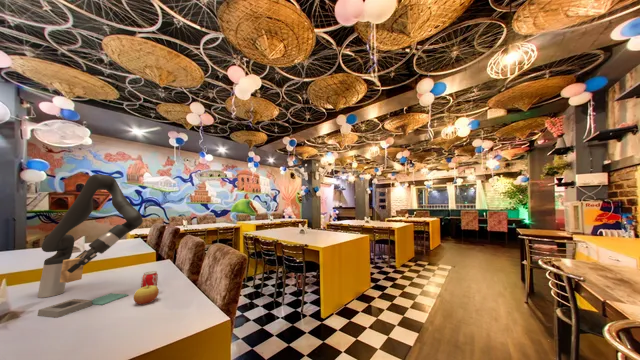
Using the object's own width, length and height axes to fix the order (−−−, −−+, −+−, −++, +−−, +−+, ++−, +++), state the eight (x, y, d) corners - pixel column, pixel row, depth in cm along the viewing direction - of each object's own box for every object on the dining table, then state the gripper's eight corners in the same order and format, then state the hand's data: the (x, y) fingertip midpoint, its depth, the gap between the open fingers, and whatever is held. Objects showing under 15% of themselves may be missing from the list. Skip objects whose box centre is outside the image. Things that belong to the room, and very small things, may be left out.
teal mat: (83, 303, 105) (83, 302, 105) (110, 294, 117) (110, 293, 117) (102, 305, 103) (102, 303, 103) (128, 295, 115) (128, 294, 115)
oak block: (59, 282, 99) (63, 260, 100) (73, 278, 103) (76, 257, 105) (67, 282, 98) (71, 260, 99) (81, 279, 102) (84, 258, 104)
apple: (152, 305, 102) (153, 288, 104) (128, 308, 100) (130, 290, 101) (161, 297, 112) (162, 281, 113) (139, 299, 109) (141, 283, 110)
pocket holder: (37, 315, 94) (38, 309, 94) (73, 304, 105) (73, 298, 106) (57, 317, 91) (58, 311, 92) (91, 305, 103) (92, 300, 104)
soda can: (149, 297, 111) (151, 274, 113) (136, 298, 112) (138, 274, 113) (159, 292, 118) (161, 270, 120) (147, 292, 118) (149, 270, 120)
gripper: (94, 237, 113) (55, 264, 101) (102, 238, 106) (62, 268, 94) (106, 245, 117) (70, 273, 105) (115, 247, 110) (78, 277, 98)
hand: (67, 270), depth 100 cm, fingers closed on oak block, 6 cm apart
